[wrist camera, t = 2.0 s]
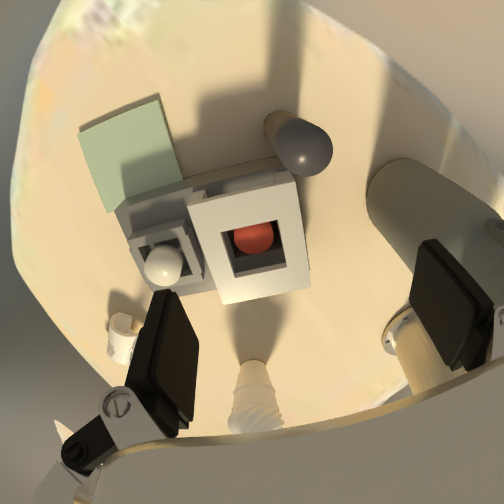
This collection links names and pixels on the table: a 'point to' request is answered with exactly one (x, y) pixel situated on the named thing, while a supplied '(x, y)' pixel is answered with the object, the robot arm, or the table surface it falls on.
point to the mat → (130, 154)
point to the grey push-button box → (223, 230)
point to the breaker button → (254, 238)
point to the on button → (163, 265)
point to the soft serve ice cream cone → (254, 401)
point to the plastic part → (121, 338)
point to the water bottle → (438, 221)
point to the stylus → (298, 143)
